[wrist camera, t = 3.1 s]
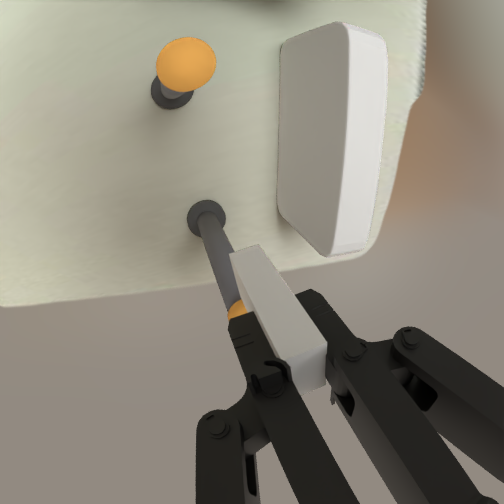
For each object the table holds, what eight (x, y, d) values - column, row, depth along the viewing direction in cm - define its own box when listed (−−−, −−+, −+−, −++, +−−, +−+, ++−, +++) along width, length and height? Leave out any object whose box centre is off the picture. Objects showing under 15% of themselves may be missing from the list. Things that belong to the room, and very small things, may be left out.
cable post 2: (182, 206, 43) (209, 308, 23) (219, 195, 44) (277, 285, 24) (193, 239, 46) (226, 351, 26) (227, 228, 47) (284, 331, 27)
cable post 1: (147, 75, 32) (128, 35, 12) (189, 64, 33) (226, 13, 13) (156, 113, 35) (148, 122, 15) (197, 102, 36) (243, 97, 16)
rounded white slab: (314, 207, 50) (377, 256, 35) (275, 210, 48) (330, 265, 33) (323, 48, 36) (401, 36, 21) (279, 42, 34) (348, 16, 19)
